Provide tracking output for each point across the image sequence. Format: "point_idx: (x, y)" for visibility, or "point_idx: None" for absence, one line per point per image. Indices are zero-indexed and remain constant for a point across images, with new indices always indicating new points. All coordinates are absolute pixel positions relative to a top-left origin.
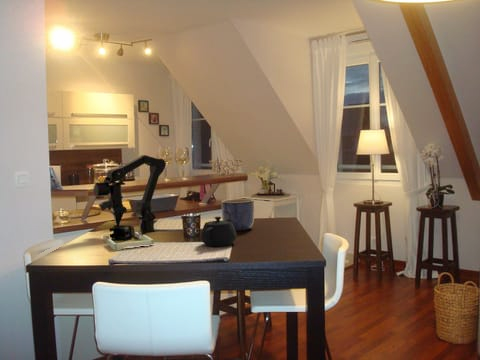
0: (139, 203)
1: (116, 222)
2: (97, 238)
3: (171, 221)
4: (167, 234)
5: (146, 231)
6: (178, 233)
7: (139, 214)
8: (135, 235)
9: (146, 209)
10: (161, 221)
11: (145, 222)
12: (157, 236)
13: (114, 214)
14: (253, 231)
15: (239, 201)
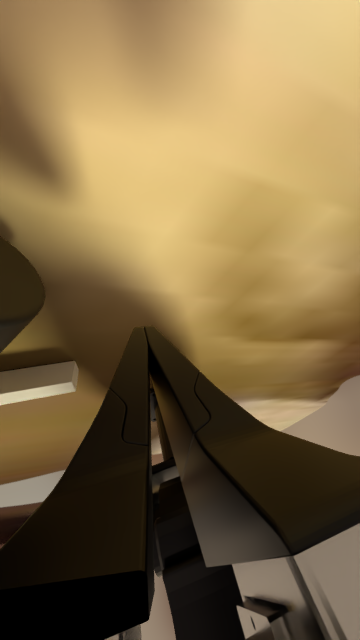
0: (241, 635)
1: (125, 354)
2: (131, 10)
3: (285, 425)
4: (49, 452)
5: (152, 402)
6: (55, 469)
7: (184, 501)
8: (37, 372)
9: (158, 573)
10: (311, 409)
11: (167, 446)
12: (5, 437)
13: (32, 546)
14: (2, 546)
15: None
